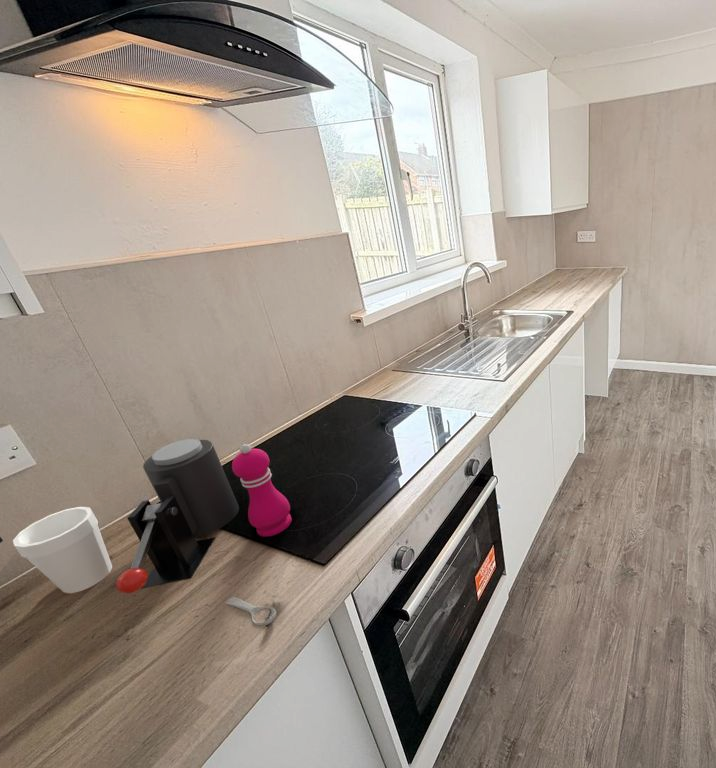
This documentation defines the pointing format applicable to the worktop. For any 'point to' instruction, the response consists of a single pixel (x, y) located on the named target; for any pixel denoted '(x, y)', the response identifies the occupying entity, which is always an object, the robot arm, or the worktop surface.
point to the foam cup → (66, 549)
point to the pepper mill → (261, 492)
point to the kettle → (193, 484)
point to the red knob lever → (140, 555)
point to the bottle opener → (252, 609)
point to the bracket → (170, 543)
